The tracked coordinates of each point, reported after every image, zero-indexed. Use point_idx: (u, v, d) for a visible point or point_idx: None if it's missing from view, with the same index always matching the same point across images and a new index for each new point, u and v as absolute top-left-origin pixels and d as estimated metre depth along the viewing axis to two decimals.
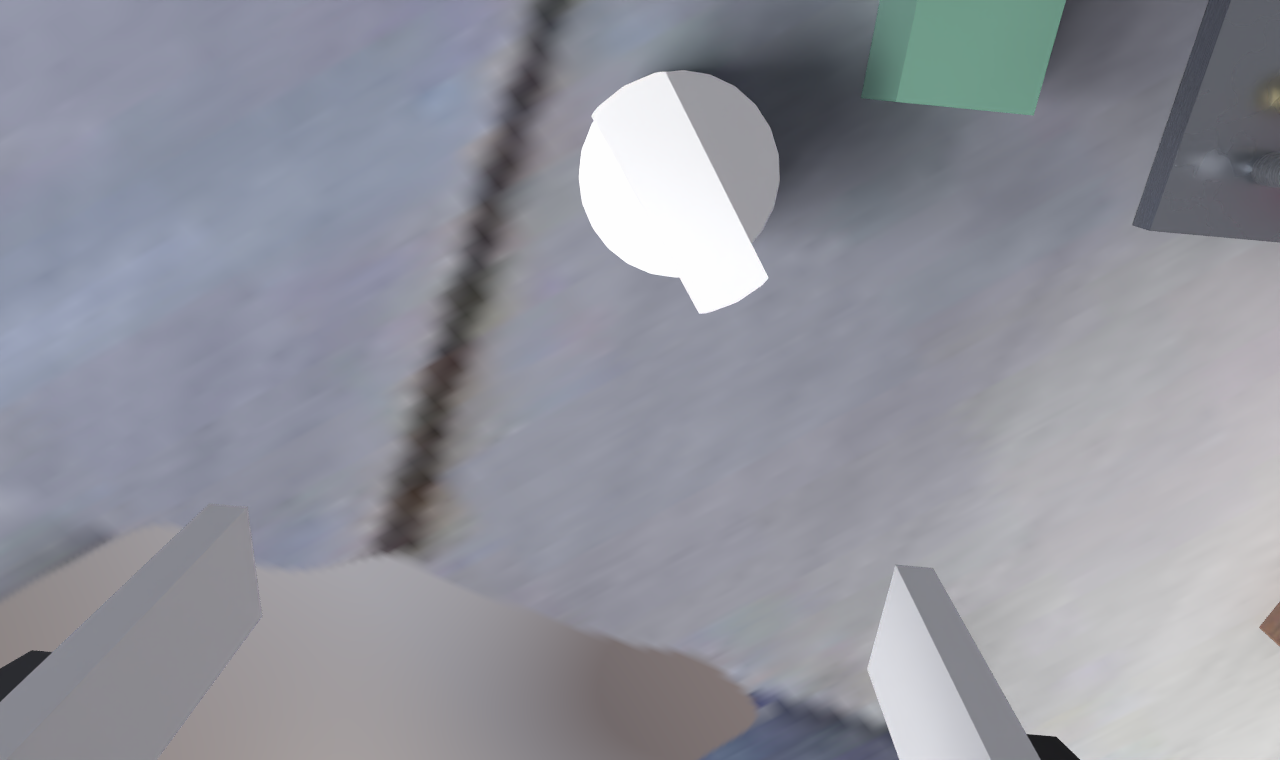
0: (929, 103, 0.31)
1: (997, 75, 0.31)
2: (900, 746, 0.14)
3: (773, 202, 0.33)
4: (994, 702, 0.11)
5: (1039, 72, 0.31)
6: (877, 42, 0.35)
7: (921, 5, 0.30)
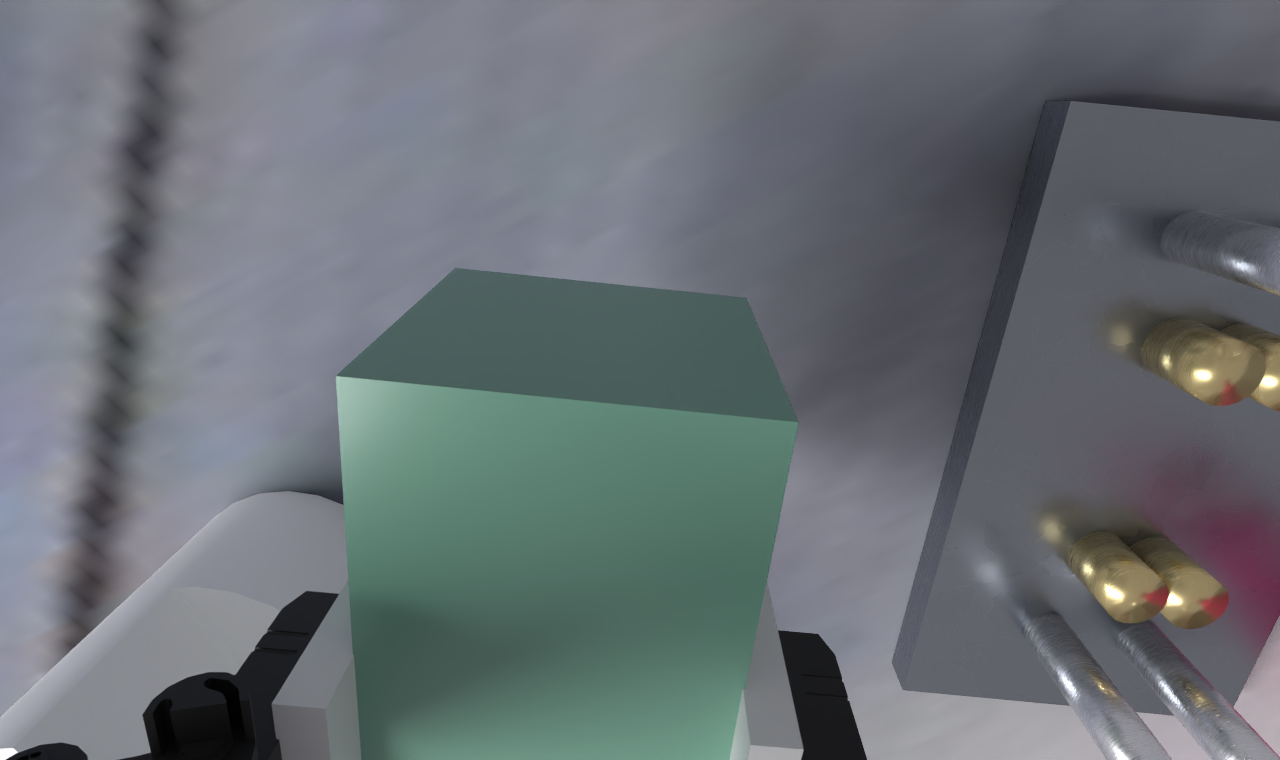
0: None
1: None
2: None
3: None
4: None
5: None
6: None
7: None
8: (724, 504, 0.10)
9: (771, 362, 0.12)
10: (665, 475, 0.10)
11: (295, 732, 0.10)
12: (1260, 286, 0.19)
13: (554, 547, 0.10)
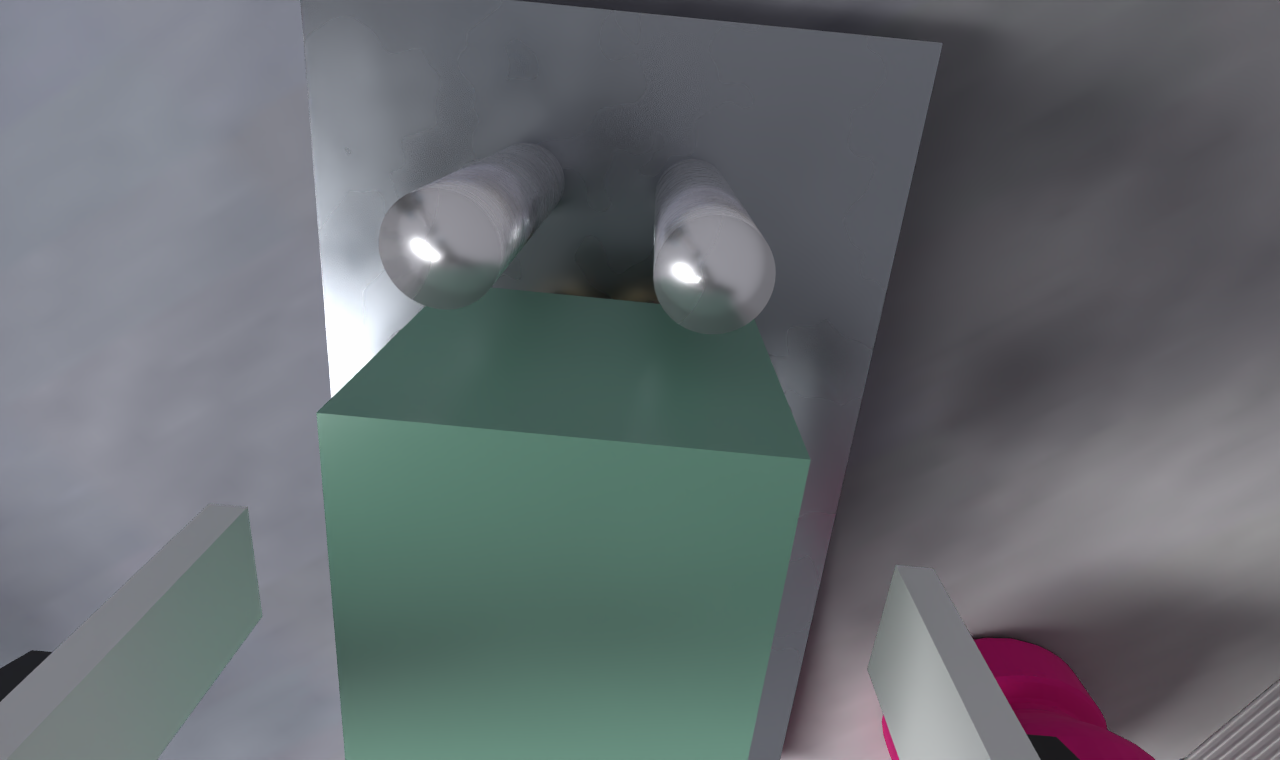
0: None
1: None
2: (899, 746, 0.14)
3: None
4: (995, 702, 0.11)
5: None
6: None
7: None
8: (731, 544, 0.09)
9: (779, 388, 0.11)
10: (668, 515, 0.09)
11: None
12: None
13: (552, 588, 0.10)
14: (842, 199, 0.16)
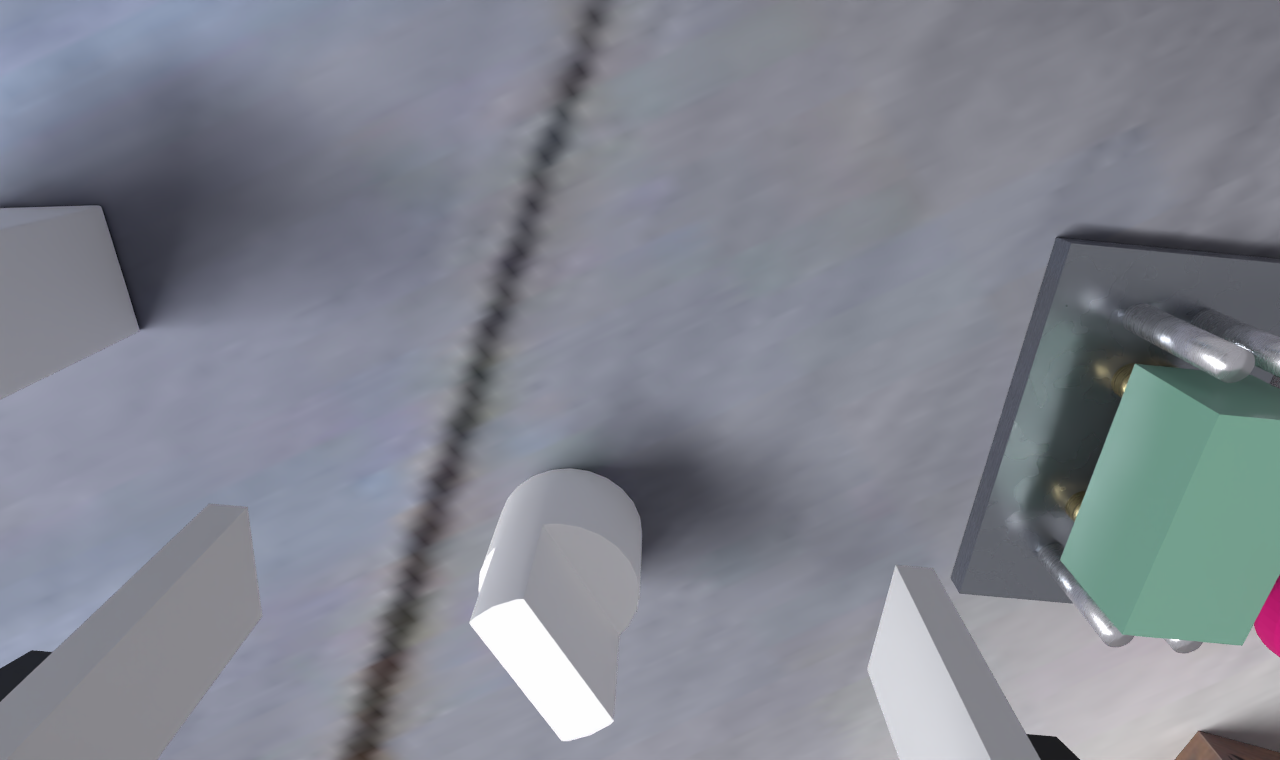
0: (1151, 636, 0.36)
1: (1213, 619, 0.35)
2: (900, 746, 0.14)
3: (635, 608, 0.41)
4: (994, 702, 0.11)
5: (1251, 618, 0.35)
6: (1086, 535, 0.39)
7: (1154, 572, 0.34)
8: None
9: None
10: None
11: None
12: (1172, 353, 0.35)
13: (1264, 467, 0.32)
14: (1269, 325, 0.38)
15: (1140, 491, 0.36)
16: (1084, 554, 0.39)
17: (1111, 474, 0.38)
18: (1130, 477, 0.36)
